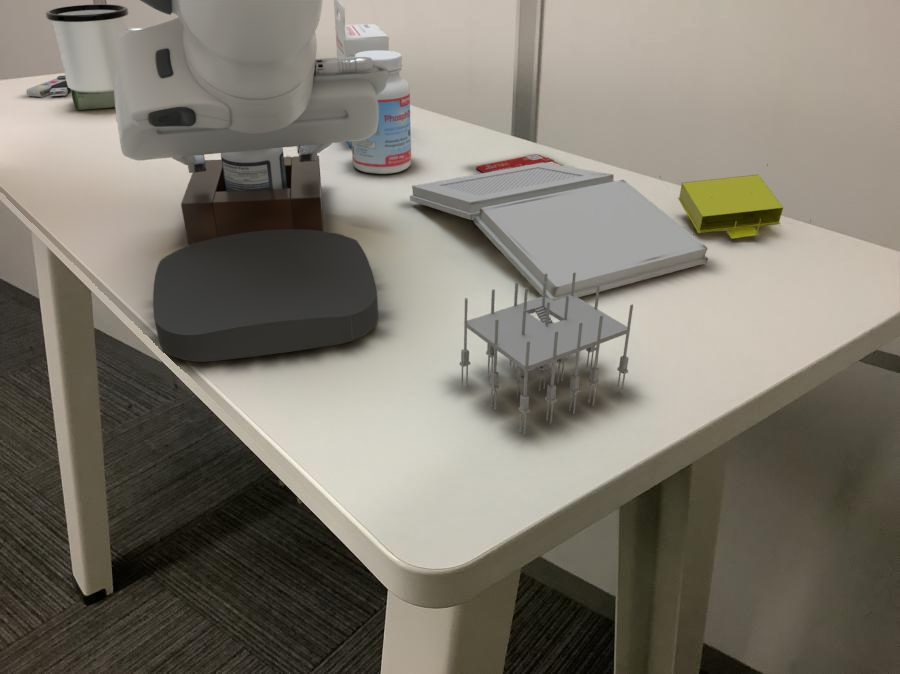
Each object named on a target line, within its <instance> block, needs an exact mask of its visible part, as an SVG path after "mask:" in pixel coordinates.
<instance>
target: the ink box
mask: <svg viewBox="0 0 900 674" xmlns="http://www.w3.org/2000/svg"><path fill="white" fill-rule="evenodd" d="M333 9H334V10H333V11H334V29H335V45H336V46H335V47H336V58H338V57H355V54H357V53H359V52H364V51H373V50H384V51H390V48H389V47H390V46H389V45H390V42H389V40H390V37H389V36H388V34H386V33H385V32H384V31H383V30H382V28H380V27H379V26H378V25H377V24H376V23H359V24H358V23H357V24H346V11H345V10H346V9H345V5H343V3H342V2H341V1H340V0H333ZM347 144H348V145H349V147H350V148H352V141H349V142H347Z"/></svg>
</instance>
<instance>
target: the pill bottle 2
mask: <svg viewBox="0 0 900 674" xmlns="http://www.w3.org/2000/svg"><path fill="white" fill-rule="evenodd" d="M402 56H403V55H402V54H401V53H400V52H397V51H393V50H389V51H384V50H373V51H364V52H359V53H357V54H355V57H369V58H371V59H372V61H373V62H378V63H381V64H384V65H386V67H387V68H388V71H389V75H388V80H387V84H386V87H385V89H384V90H383V91H382V92H381V93H379V94H378V95H377V100H378V107H379V119H378V127H377V131H376V133H375V134H374V135H372V136H371V137H369V138H367V139H365V140H361V141H352V147H351V158H352V159H351V160H352V164H353V167H354V168H355V169H357V170H358V171H360V172H364V173H367V174H379V175H388V174H389V175H391V174H396V173H400V172H402V171H405V170H406V169H408V168H409V167H410V166H411V163H412V139H411V138H412V137H411V135H412V134H411V129H412V128H411V91H410V85H409V83H408V81H407V80H406V79H405V77H402V76H401V75H400V72H401V71H402V67H403V60H402V58H403V57H402Z"/></svg>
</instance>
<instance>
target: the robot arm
mask: <svg viewBox="0 0 900 674" xmlns="http://www.w3.org/2000/svg"><path fill="white" fill-rule="evenodd" d="M139 1H140V2H141V3H144V4H146V5H147V6H149V7H150V8H152V9H154V10H156V11H158V12H160V13H163V14H165V15H169V16H171V15H172V14H174V15H176V16H177V17H176V18H173V19H171V20H168V21H164V22H162V23H158V24H155V25H152V26H148V27H143V28H144V29H140V30H136V31H133V32H129V33H127V34H124V35H123V36H122V37H121V38H120V48H119V55H120V69H119V71H118V72H117V74H116V77H115V82H114V101H115V107H114V109H115V116H116V117H115V118H116V124H117V126H116V127H117V132H118V138H119V145H120V149H121V153H122V155H123V156H124V157H126V158H128V159H131V160H134V161H149V160H159V159H169V158H170V159H173V160H175V161H176V162H179V163H181V164H182V165H185V166H187V170H188V174H192V173H193V172H203V171H206V164H205V160H206V157H205V156H206V155H214V154H221V153H227V152H238V151H250V150H261V149H272V148H283V149H284V148H292V147H296V151H297V154H298V156H299V161H300V162H308V161H316V160H317V156H318V154H320V153H321V152H323V151H324V150H325V149H327V148H328V147H330V146H331V145H332V144H338V143H346V142H347V143H348V142H349V141H361V140H365V139H367V138H369V137H371V136H372V135H374V134H375V133H376V131H377V127H378V119H379V107H378V100H377V95H378V94H379V93H381V92H382V91H383V90H384V89H385V87H386V84H387V80H388V75H389V71H388V68H387V67H386V65H384V64H381V63H378V62H373V61H372V59H371V58H369V57H338V58H337V57H324V58H317V52H318V51H317V50H318V46H317V45H318V42H317V34H316V31H317V28H318V27H319V23H320V19H321V15H322V9H323V0H139Z"/></svg>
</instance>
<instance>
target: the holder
mask: <svg viewBox="0 0 900 674" xmlns="http://www.w3.org/2000/svg"><path fill="white" fill-rule="evenodd" d="M284 163H285V172H286V181H287V189H266V190H245V191H226V186H225V179H224V173H223V166H222V160H221V159H205V164H206V171H203V172H193V173H191V176H190V178H189V181H188V184H187V187H186V189H185V192H184V195H183V197H182V201H181V203H180V207H181V212H182V219H183V223H184V230H185V235H186V240H187V244H195V243H198V242H201V241H205V240H209V239H213V238H218V237H222V236H228V235H233V234H240V233H247V232H255V231H266V230H286V229H301V230H318V231H325V229H324V213H323V212H324V211H323V210H324V209H323V193H322V192H323V191H322V190H323V189H322V179H321V178H322V177H321V165H320V156H319V155H317V160H316V161H308V162H300V161H299V155H298V156H297V155H295V156H294V155H293V156H284Z"/></svg>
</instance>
